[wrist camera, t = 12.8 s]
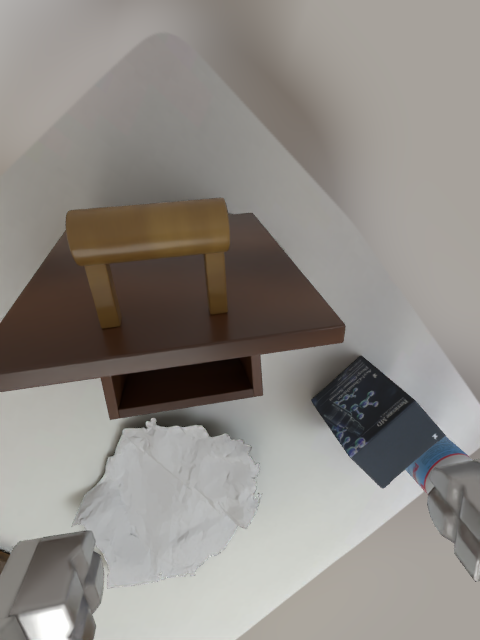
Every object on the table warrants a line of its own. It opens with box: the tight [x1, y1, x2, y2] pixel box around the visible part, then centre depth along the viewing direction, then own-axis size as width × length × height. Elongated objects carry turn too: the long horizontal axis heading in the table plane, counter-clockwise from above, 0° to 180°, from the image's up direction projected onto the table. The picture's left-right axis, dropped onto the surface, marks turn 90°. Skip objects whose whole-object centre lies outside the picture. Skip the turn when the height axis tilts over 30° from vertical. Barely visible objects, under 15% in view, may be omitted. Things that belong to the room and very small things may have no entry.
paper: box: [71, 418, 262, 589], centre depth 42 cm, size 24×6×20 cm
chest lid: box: [0, 198, 345, 392], centre depth 18 cm, size 16×13×5 cm
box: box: [311, 356, 446, 488], centre depth 39 cm, size 8×6×11 cm
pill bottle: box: [405, 436, 472, 494], centre depth 42 cm, size 6×6×11 cm
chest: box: [101, 214, 263, 420], centre depth 32 cm, size 15×13×9 cm
